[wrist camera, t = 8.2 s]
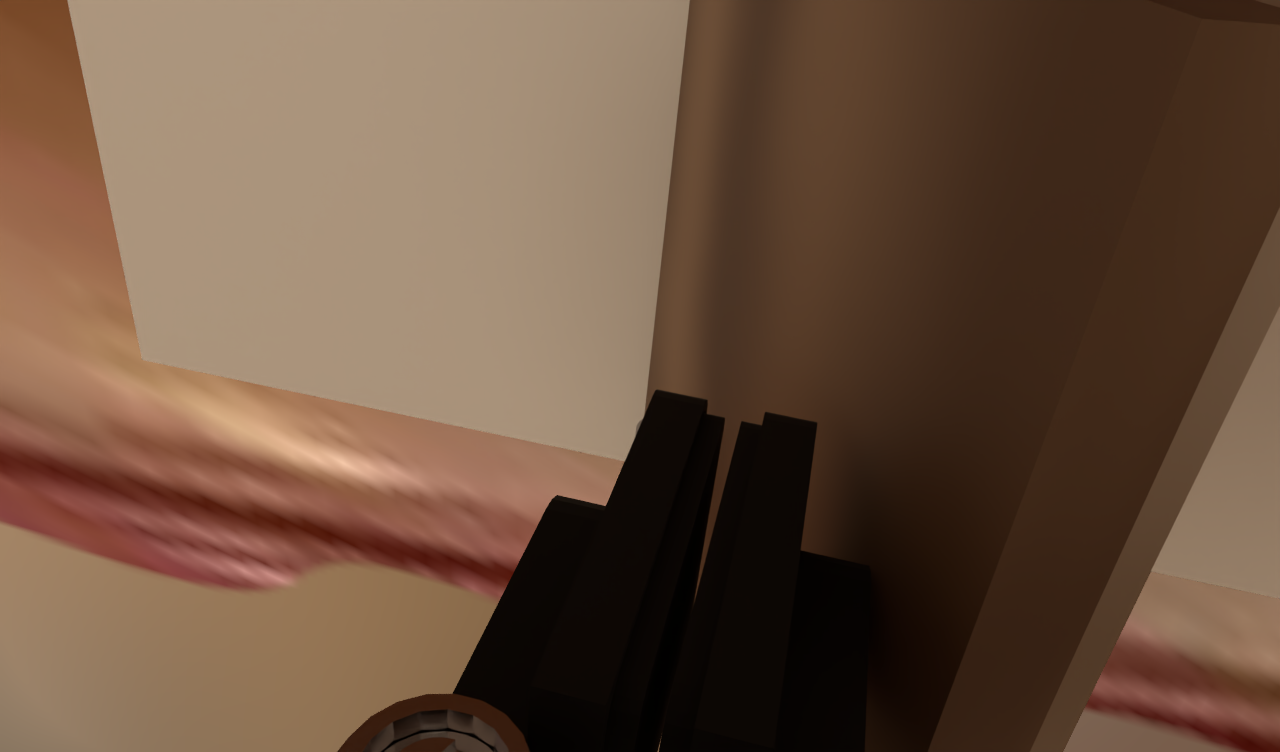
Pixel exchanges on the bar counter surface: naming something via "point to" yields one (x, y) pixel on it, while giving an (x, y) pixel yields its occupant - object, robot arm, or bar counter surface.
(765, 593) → the robot arm
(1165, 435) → the flip plaque
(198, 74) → the plaque base
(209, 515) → the bar counter surface
